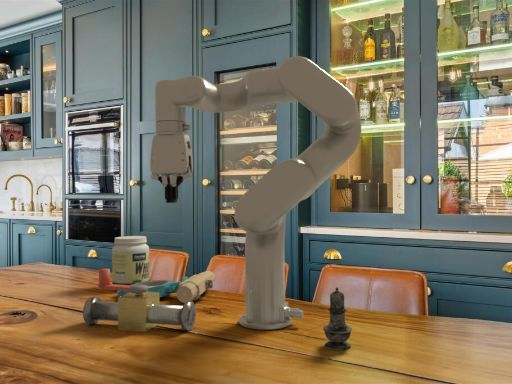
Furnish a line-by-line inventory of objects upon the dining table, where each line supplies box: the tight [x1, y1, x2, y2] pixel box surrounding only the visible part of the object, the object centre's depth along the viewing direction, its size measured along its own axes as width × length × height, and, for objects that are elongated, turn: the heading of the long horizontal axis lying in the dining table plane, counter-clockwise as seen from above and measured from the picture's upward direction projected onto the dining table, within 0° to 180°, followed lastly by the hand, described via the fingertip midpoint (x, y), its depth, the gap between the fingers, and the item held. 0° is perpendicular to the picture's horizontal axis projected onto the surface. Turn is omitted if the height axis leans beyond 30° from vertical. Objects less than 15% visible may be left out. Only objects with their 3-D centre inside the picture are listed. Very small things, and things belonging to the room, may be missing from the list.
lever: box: [97, 268, 148, 293], centre depth 110 cm, size 13×4×5 cm, turn 69°
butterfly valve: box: [116, 270, 216, 304], centre depth 138 cm, size 27×7×30 cm
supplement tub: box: [111, 235, 151, 285], centre depth 153 cm, size 12×12×17 cm
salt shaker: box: [322, 286, 353, 351], centre depth 93 cm, size 6×6×12 cm
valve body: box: [82, 292, 197, 333], centre depth 108 cm, size 26×7×8 cm, turn 76°
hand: (171, 202), depth 116 cm, fingers closed
